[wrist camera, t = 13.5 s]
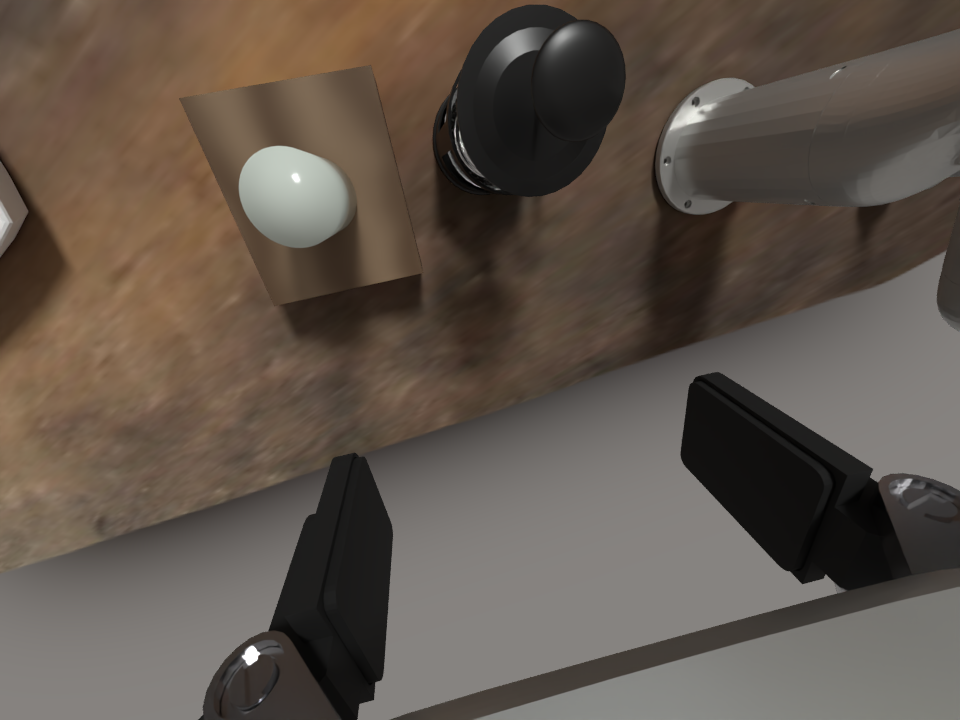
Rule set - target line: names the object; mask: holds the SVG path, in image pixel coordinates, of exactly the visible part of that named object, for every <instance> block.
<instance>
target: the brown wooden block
mask: <svg viewBox="0 0 960 720" xmlns="http://www.w3.org/2000/svg"><path fill="white" fill-rule="evenodd" d="M179 99H180V101H181V103H182V106H183V108H184V110H185V112H186V114H187V117H188V119H189V121H190V123H191V125H192V127H193V130H194V132H195V134H196V136H197V138H198V141H199V143H200V145H201V147H202V149H203V151H204V154H205V156H206V158H207V160H208V162H209V165H210V167H211V169H212V171H213V173H214V175H215V178H216V180H217V182H218V184H219V186H220V189H221V191H222V193H223V195H224V197H225V199H226V202H227V204H228V206H229V208H230V210H231V213H232V215H233V217H234V219H235V221H236V223H237V226H238V228H239V230H240V232H241V234H242V237H243V239H244V241H245V243H246V245H247V247H248V250H249V252H250V254H251V256H252V258H253V261H254V263H255V265H256V267H257V269H258V271H259V274H260V276H261V278H262V280H263V282H264V285H265V287H266V289H267V291H268V293H269V295H270V298H271V300H272V302H273V304H274V306H277V305H281V304H286V303H290V302H295V301H299V300H304V299H308V298H313V297H317V296H322V295H326V294H331V293H335V292H340V291H344V290H349V289H353V288H358V287H362V286H367V285H371V284H376V283H380V282H385V281H389V280H394V279H398V278H403V277H407V276H412V275H416V274H421V273H423V270H422V265H421V260H420V256H419V252H418V248H417V244H416V240H415V236H414V232H413V228H412V224H411V220H410V216H409V212H408V208H407V204H406V200H405V196H404V192H403V188H402V185H401V181H400V177H399V173H398V169H397V165H396V161H395V157H394V153H393V149H392V145H391V141H390V137H389V133H388V129H387V125H386V121H385V117H384V113H383V109H382V105H381V101H380V97H379V93H378V89H377V85H376V81H375V78H374V74H373V71H372V67H371V65H369V66H363V67H357V68H352V69H346V70H340V71H334V72H329V73H323V74H317V75H311V76H305V77H300V78H294V79H288V80H282V81H276V82H271V83H265V84H259V85H253V86H248V87H242V88H236V89H230V90H224V91H219V92H213V93H207V94H201V95H196V96H190V97H184V98H179ZM272 146H287V147H292V148H295V149H298V150H301V151H304V152H307V153H310V154H313V155H316V156H319V157H322V158H325V159H328V160H330V161H332V162H334V163H335V164H337V165H338V166H339V167H340V168H342V169H343V170H344V172H345V173H346V174H347V175H348V177H349V178H350V180H351V181H352V184H353V186H354V189H355V192H356V197H357V207H356V212H355V215H354V217H353V219H352V221H351V222H350V224H349V225H348V226H347V227H346V228H344V229H343V230H341V231H339V232H338V233H336V234H334V235H333V236H331V237H329V238H328V239H326V240H324V241H323V242H321V243H319V244H317V245H314V246H311V247H306V248H293V247H288V246H284V245H281V244H278V243H276V242H274V241H272V240H270V239H269V238H267V237H266V236H265V235H263V234H262V233H261V232H260V231H259V230H258V229H257V228H256V227H255V226H254V225H253V224H252V222H251V221H250V220H249V218H248V216H247V215H246V213H245V211H244V209H243V206H242V203H241V200H240V195H239V179H240V174H241V171H242V169H243V167H244V165H245V163H246V162H247V161H248V159H249V158H250V157H251V156H252V155H253V154H255V153H256V152H258V151H260V150H262V149H264V148H267V147H272Z"/></svg>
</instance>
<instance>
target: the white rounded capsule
mask: <svg viewBox="0 0 960 720" xmlns="http://www.w3.org/2000/svg"><path fill="white" fill-rule="evenodd" d="M239 195H240V200H241V203H242V206H243V209H244V211H245V213H246V215H247V216H248V218H249V220H250V221H251V222H252V224H253V225H254V226H255V227H256V228H257V229H258V230H259V231H260V232H261V233H262V234H263V235H265V236H266V237H267V238H269V239H270V240H272V241H274V242H276V243H278V244H281V245H284V246H288V247H293V248H306V247H311V246H314V245H317V244H319V243H321V242H323V241H324V240H326V239H328V238H329V237H331V236H333V235H334V234H336V233H338V232H339V231H341V230H343V229H344V228H346V227H347V226H348V225H349V224H350V222H351V221H352V219H353V217H354V215H355V212H356V207H357V197H356V192H355V189H354V186H353V184H352V181H351V180H350V178H349V177H348V175H347V174H346V173H345V172H344V170H343V169H342V168H340V167H339V166H338V165H337V164H335V163H334V162H332V161H330V160H328V159H325V158H322V157H319V156H316V155H313V154H310V153H307V152H304V151H301V150H298V149H295V148H292V147H287V146H272V147H267V148H264V149H262V150H260V151H258V152H256V153H255V154H253V155H252V156H251V157H250V158H249V159H248V161H247V162H246V163H245V165H244V167H243V169H242V171H241V174H240V179H239Z"/></svg>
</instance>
